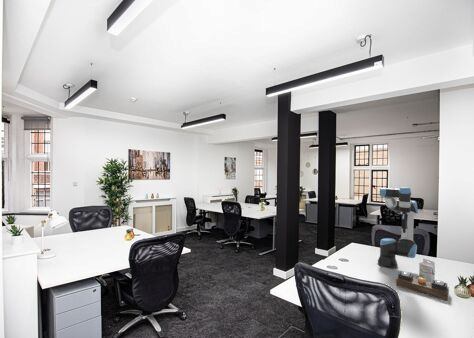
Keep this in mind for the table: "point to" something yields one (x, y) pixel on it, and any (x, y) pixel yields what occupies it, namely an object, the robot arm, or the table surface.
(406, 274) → the knob
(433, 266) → the ink box
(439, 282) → the knob
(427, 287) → the brown long low box
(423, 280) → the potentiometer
